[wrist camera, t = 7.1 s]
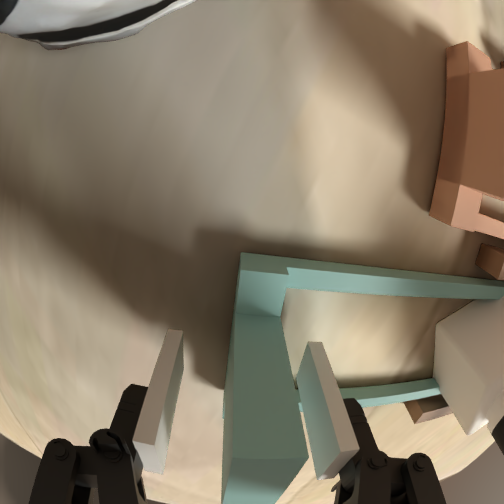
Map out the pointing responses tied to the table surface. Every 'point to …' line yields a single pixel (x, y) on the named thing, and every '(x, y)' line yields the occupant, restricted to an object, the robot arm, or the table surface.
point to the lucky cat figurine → (80, 19)
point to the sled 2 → (471, 142)
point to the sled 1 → (279, 370)
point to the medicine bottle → (473, 365)
